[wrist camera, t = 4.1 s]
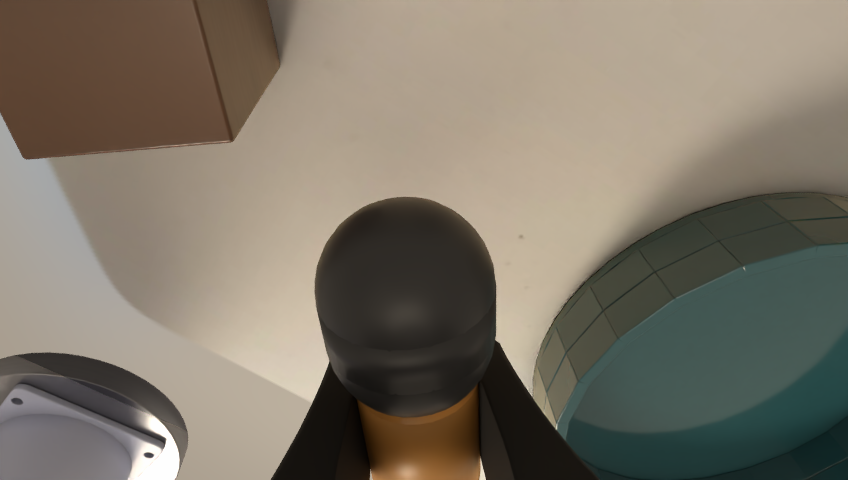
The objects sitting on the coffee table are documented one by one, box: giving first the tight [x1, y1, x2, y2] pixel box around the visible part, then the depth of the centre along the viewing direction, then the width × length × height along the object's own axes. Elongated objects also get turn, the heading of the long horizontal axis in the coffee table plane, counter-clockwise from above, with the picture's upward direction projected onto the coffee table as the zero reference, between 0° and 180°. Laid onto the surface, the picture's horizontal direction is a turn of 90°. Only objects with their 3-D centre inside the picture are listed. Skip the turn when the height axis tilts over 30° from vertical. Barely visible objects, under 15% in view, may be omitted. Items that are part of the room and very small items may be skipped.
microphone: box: [315, 197, 496, 480], centre depth 11 cm, size 9×3×3 cm, turn 4°
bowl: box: [533, 193, 848, 480], centre depth 27 cm, size 20×20×4 cm
